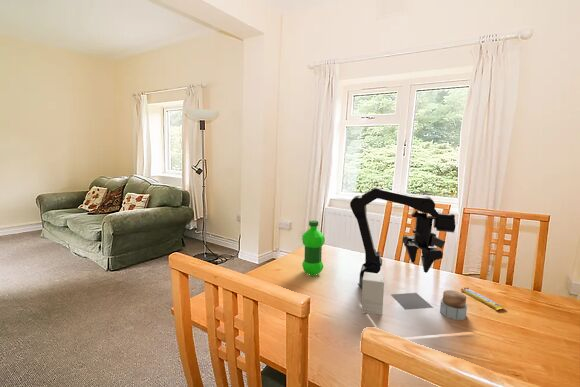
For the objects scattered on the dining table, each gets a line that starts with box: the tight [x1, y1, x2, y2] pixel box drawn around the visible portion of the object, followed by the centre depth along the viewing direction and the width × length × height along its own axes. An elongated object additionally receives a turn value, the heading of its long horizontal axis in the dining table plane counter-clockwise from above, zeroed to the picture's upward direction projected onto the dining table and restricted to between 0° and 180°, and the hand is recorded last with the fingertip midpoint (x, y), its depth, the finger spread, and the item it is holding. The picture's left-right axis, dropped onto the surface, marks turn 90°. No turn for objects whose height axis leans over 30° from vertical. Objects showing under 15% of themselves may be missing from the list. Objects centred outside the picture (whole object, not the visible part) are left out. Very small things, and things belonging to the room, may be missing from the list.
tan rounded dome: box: [442, 289, 467, 308], centre depth 101 cm, size 7×7×3 cm
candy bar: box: [460, 287, 507, 311], centre depth 112 cm, size 17×4×2 cm, turn 16°
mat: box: [390, 292, 434, 310], centre depth 110 cm, size 11×11×1 cm
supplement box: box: [361, 272, 385, 316], centre depth 104 cm, size 7×7×13 cm
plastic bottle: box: [301, 220, 326, 276], centre depth 133 cm, size 10×10×25 cm
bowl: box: [439, 297, 468, 321], centre depth 101 cm, size 8×8×4 cm
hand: (419, 267), depth 113 cm, fingers open, 9 cm apart
